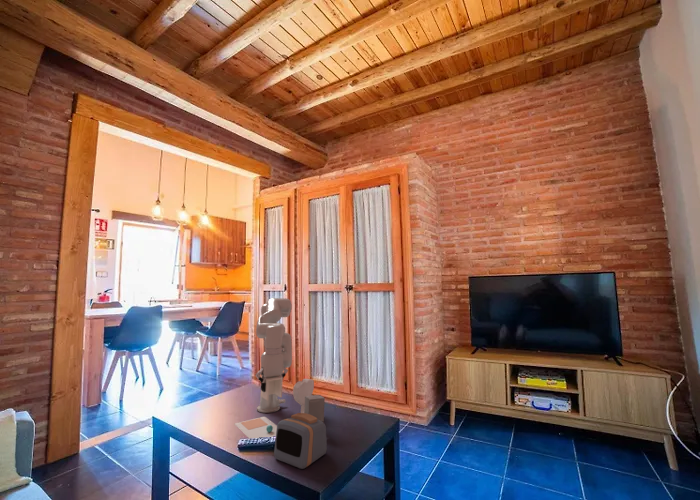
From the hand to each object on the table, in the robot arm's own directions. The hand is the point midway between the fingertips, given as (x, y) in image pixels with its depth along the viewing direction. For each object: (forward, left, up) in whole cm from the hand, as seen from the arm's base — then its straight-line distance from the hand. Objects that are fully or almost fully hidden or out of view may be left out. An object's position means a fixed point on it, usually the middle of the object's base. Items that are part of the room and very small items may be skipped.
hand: (271, 389), depth 155 cm
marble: (0, 0, -18) cm, 18 cm away
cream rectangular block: (0, 0, -3) cm, 3 cm away
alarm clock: (-1, +27, -20) cm, 34 cm away
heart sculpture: (-24, -10, -20) cm, 33 cm away
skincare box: (-18, +10, -20) cm, 29 cm away
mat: (+2, -6, -20) cm, 21 cm away
